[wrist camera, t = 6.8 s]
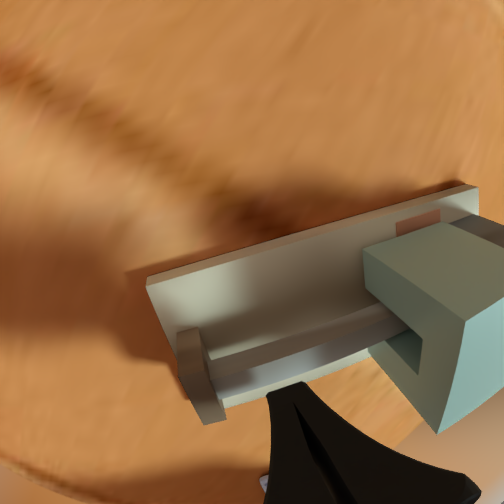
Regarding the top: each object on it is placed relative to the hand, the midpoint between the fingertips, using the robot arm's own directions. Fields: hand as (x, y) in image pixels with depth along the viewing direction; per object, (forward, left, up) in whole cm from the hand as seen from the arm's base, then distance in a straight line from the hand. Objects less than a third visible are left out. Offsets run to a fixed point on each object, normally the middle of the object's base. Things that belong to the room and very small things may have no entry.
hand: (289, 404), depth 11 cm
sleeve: (0, -8, -4) cm, 9 cm away
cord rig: (0, -5, -6) cm, 7 cm away
